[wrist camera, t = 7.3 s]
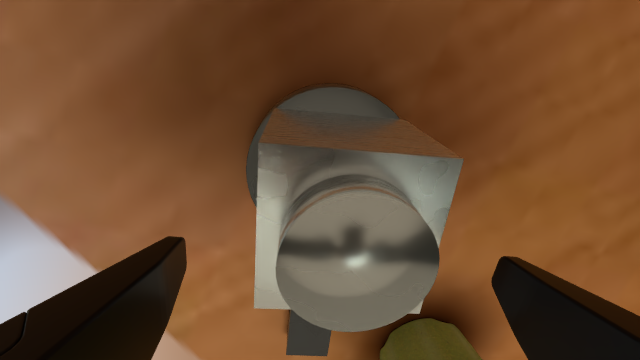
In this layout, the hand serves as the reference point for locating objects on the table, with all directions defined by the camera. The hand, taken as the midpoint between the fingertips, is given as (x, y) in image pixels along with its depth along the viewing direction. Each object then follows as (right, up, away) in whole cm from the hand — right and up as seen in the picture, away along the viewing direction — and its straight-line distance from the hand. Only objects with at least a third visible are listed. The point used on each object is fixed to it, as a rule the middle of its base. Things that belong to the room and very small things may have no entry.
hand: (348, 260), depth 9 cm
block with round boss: (0, +3, +6) cm, 7 cm away
